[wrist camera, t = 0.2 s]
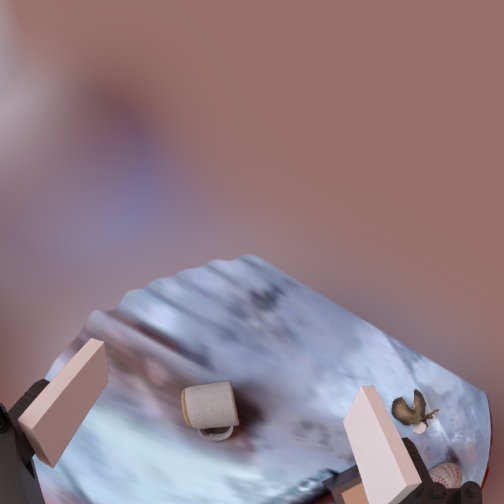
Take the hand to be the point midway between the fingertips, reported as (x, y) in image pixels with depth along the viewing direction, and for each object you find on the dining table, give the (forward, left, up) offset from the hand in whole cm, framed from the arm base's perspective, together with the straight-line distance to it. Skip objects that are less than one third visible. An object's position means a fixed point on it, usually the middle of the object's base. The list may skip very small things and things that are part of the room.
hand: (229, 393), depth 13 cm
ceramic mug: (-6, +4, -36) cm, 37 cm away
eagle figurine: (-23, -31, -36) cm, 53 cm away
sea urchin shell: (-48, -33, -36) cm, 69 cm away
